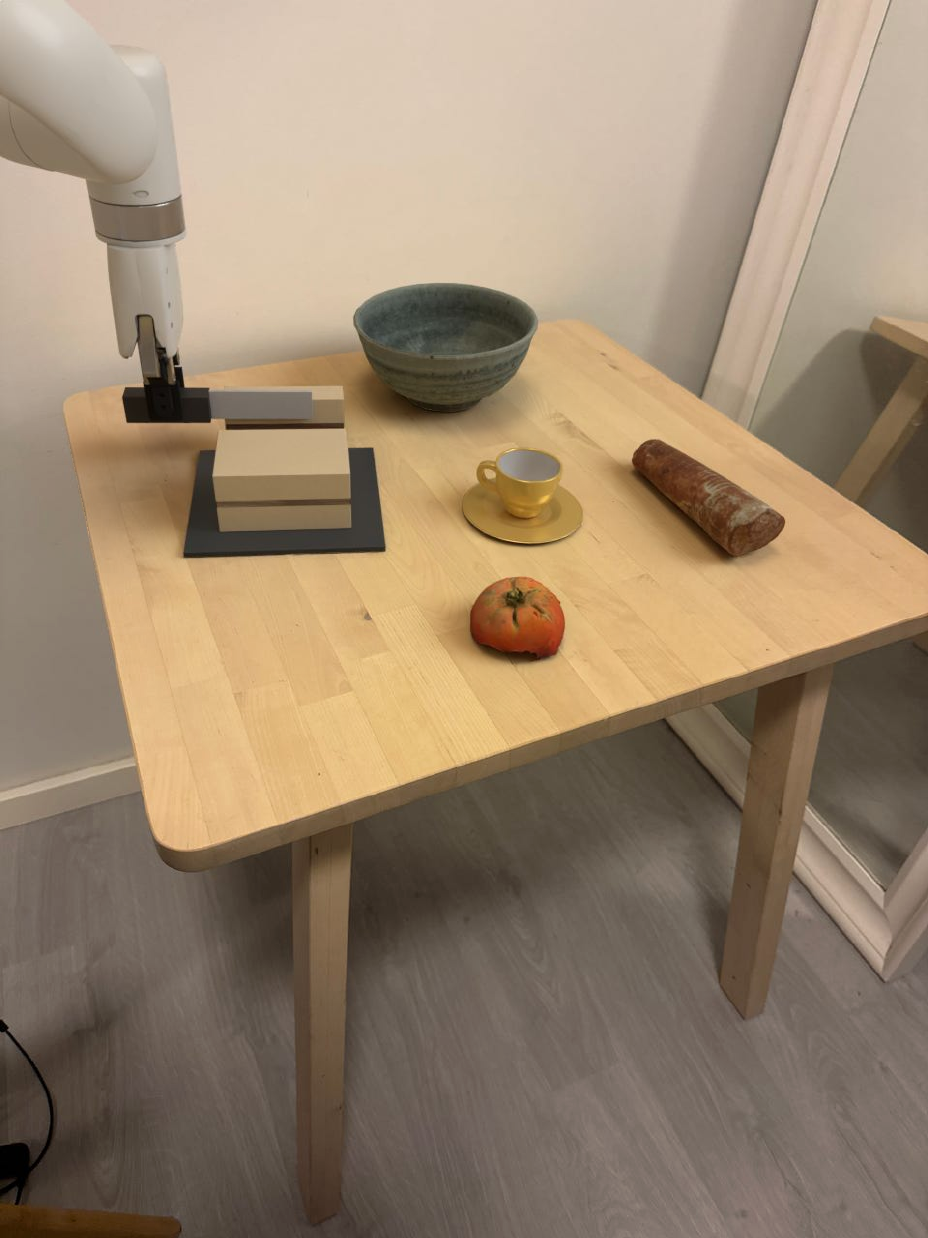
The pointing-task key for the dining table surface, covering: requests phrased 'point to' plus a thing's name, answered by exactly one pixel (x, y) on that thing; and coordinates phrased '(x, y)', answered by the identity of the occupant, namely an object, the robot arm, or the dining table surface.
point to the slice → (324, 417)
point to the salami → (709, 498)
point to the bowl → (445, 341)
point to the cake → (284, 495)
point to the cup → (522, 498)
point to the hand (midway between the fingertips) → (168, 411)
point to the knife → (225, 404)
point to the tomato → (518, 617)
